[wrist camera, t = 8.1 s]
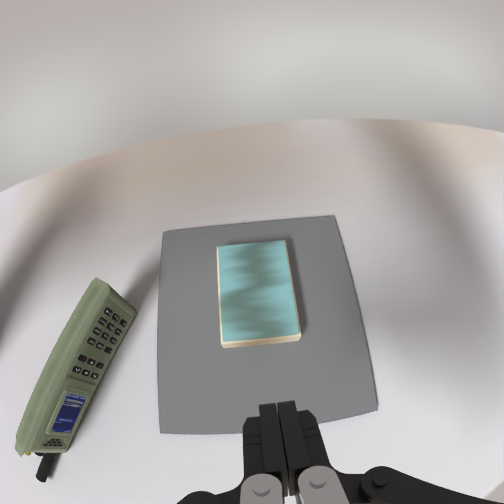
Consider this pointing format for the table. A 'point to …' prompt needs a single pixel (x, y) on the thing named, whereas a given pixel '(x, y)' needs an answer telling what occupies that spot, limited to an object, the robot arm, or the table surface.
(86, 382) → the brick cell phone
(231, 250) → the tile
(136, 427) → the table surface
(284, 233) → the mat
